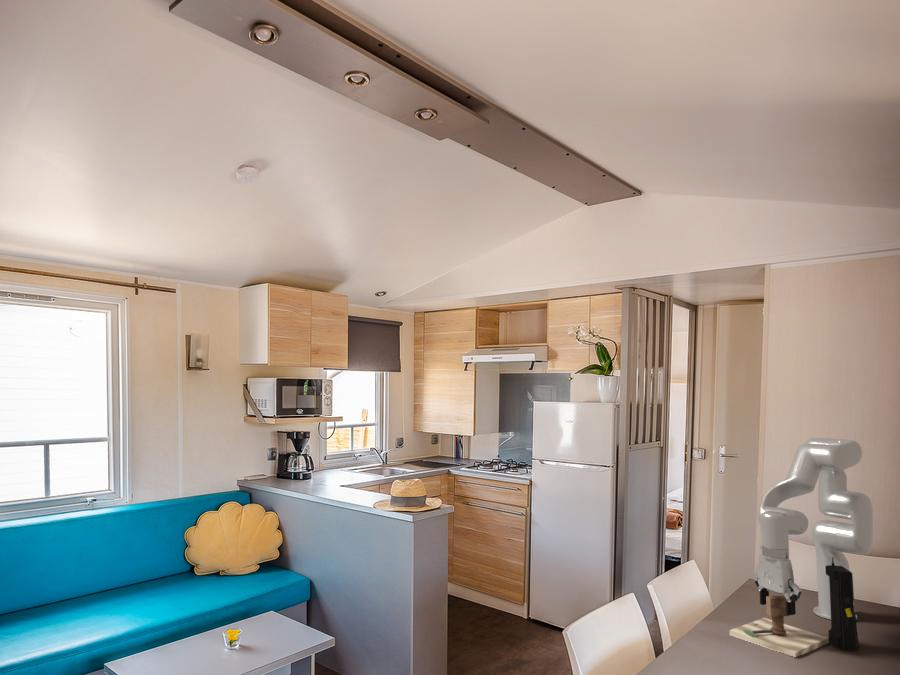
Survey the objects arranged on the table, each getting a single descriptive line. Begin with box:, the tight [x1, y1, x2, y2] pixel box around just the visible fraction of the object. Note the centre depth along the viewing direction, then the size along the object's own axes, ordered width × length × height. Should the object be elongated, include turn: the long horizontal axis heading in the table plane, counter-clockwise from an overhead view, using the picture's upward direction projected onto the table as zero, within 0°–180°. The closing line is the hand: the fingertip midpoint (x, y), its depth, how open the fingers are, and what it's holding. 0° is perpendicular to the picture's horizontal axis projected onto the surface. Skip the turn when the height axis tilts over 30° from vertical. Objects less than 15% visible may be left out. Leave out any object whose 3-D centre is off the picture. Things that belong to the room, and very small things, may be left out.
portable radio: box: [825, 558, 860, 652], centre depth 185 cm, size 8×6×25 cm
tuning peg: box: [752, 595, 790, 635], centre depth 190 cm, size 12×4×11 cm, turn 99°
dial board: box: [729, 617, 830, 658], centre depth 190 cm, size 20×20×2 cm
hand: (777, 609), depth 190 cm, fingers open, 9 cm apart
